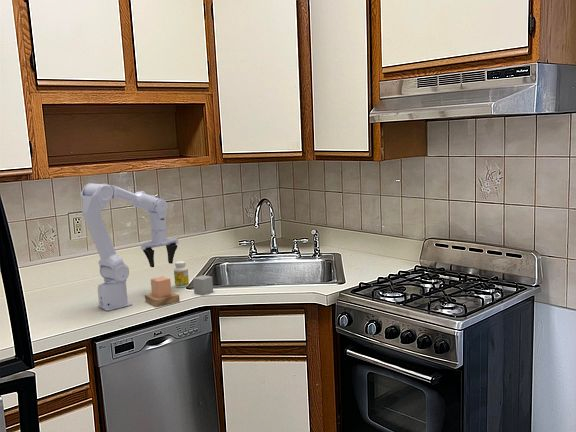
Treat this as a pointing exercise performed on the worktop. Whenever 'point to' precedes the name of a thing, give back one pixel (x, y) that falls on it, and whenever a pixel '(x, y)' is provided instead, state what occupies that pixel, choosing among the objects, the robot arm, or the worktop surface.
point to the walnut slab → (162, 299)
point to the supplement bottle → (181, 274)
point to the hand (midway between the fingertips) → (161, 265)
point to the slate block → (203, 285)
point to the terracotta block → (161, 287)
